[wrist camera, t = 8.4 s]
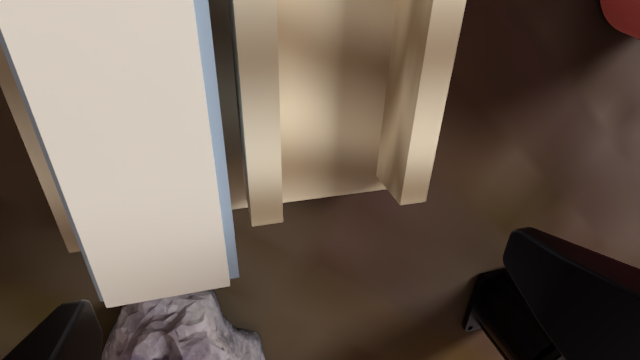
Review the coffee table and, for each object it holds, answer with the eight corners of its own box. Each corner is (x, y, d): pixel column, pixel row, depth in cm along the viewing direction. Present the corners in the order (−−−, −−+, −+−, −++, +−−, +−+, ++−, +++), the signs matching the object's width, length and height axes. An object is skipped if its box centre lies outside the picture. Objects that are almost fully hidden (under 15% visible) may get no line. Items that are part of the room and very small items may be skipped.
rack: (405, 177, 23) (441, 214, 20) (73, 218, 18) (45, 276, 15) (464, -177, 15) (541, -215, 11) (-106, -253, 10) (-249, -351, 7)
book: (225, 167, 18) (240, 288, 12) (135, 176, 17) (96, 314, 11) (192, -122, 13) (185, -205, 6) (56, -132, 12) (-131, -247, 5)
